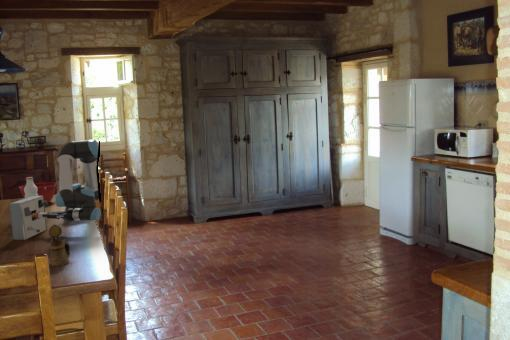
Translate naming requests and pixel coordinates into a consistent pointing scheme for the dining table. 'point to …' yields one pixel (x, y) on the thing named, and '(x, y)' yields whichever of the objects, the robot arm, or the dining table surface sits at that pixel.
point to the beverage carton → (65, 245)
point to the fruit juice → (30, 188)
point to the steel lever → (33, 229)
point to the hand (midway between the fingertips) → (38, 215)
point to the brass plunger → (35, 215)
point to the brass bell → (57, 248)
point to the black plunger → (43, 203)
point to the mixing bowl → (43, 190)
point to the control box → (26, 217)
